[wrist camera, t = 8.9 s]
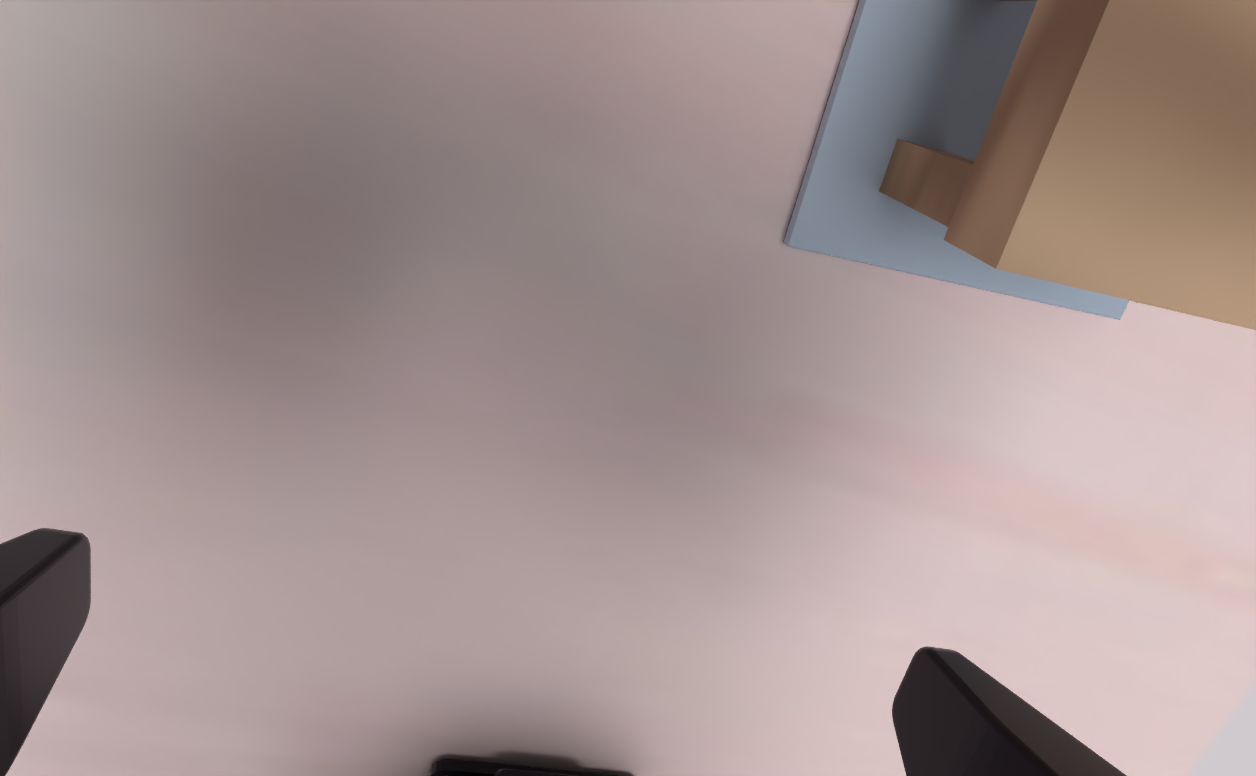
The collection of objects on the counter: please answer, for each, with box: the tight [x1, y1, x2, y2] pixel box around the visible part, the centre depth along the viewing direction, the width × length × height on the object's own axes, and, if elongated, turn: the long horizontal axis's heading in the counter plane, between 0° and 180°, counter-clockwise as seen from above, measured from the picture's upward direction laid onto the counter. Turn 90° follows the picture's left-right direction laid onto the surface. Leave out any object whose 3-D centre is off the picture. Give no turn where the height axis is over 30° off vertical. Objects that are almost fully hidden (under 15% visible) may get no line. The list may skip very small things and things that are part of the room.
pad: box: [784, 0, 1129, 320], centre depth 19 cm, size 9×9×1 cm
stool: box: [879, 0, 1256, 330], centre depth 16 cm, size 6×6×6 cm
